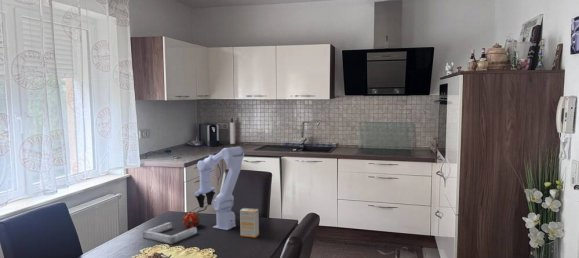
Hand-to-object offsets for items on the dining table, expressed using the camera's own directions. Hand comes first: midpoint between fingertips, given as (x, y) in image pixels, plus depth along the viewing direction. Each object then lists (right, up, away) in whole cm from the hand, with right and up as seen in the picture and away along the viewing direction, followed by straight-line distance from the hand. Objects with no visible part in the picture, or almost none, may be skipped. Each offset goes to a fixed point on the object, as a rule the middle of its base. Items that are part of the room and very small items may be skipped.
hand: (205, 206), depth 213 cm
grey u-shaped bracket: (-12, -10, -22) cm, 27 cm away
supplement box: (+27, -10, -23) cm, 37 cm away
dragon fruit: (-5, -9, -10) cm, 14 cm away
